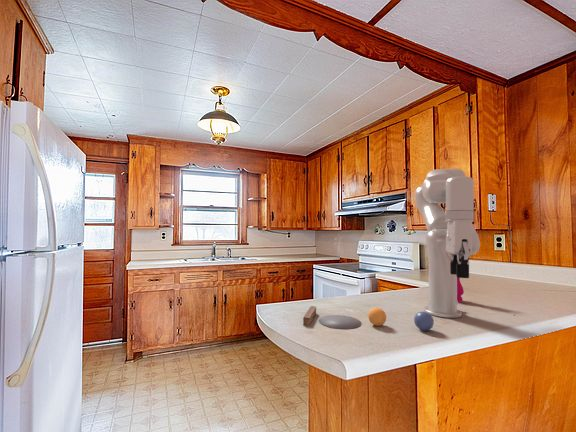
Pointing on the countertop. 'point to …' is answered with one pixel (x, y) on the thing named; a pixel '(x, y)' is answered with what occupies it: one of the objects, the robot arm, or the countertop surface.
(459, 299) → the pepper mill
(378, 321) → the object ball
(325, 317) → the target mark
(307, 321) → the rail
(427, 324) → the blue ball
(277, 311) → the countertop surface
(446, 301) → the robot arm
